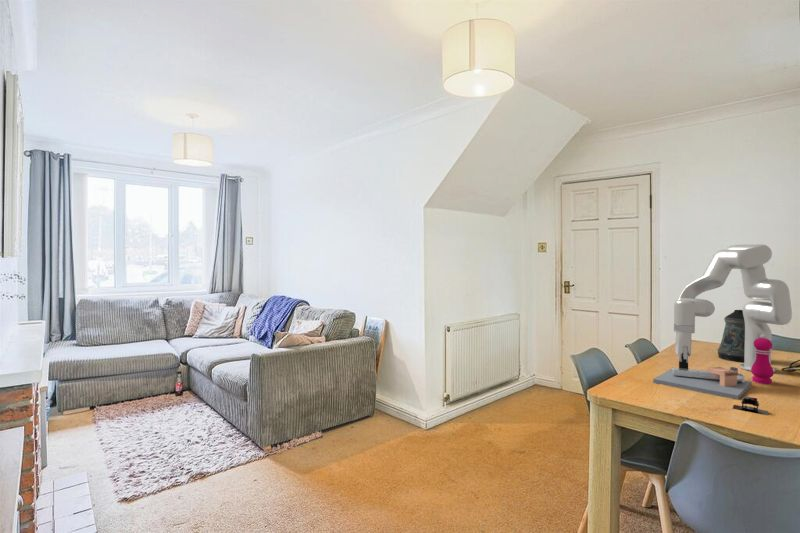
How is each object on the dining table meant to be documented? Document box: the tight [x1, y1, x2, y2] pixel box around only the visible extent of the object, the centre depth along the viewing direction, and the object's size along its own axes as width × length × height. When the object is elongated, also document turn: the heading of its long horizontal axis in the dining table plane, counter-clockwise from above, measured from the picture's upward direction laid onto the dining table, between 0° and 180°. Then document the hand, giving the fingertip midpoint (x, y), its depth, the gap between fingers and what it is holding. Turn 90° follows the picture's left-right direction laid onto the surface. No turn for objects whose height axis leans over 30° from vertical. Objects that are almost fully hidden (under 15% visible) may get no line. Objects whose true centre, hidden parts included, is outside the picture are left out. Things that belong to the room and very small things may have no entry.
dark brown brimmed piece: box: [732, 396, 769, 416], centre depth 147 cm, size 12×7×5 cm, turn 47°
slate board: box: [652, 368, 753, 400], centre depth 176 cm, size 26×28×2 cm
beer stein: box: [717, 309, 745, 364], centre depth 219 cm, size 16×19×25 cm
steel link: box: [671, 366, 745, 382], centre depth 178 cm, size 24×6×5 cm, turn 65°
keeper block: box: [707, 366, 737, 386], centre depth 172 cm, size 6×7×7 cm
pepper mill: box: [750, 334, 775, 385], centre depth 179 cm, size 7×7×20 cm
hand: (683, 370), depth 185 cm, fingers closed
